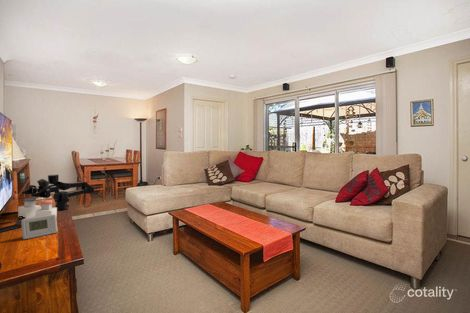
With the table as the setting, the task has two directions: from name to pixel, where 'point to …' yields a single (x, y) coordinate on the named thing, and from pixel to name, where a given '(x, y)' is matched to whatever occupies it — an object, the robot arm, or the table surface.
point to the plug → (29, 202)
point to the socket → (28, 211)
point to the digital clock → (39, 226)
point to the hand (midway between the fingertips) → (26, 194)
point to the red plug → (46, 204)
